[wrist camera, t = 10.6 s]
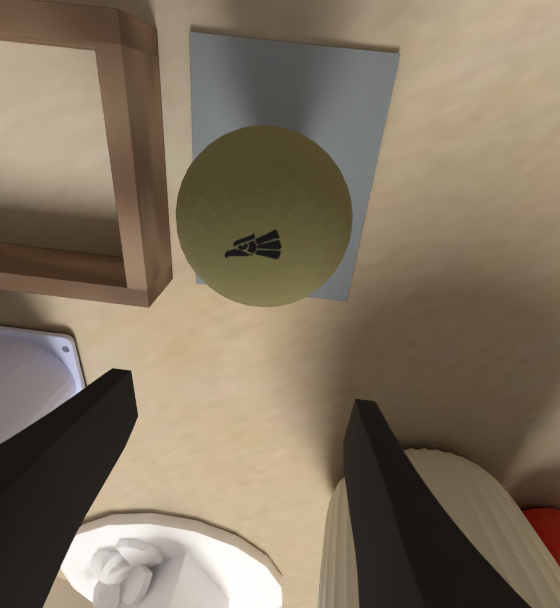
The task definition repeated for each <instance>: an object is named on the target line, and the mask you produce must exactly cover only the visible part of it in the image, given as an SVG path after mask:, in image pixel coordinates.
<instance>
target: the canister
mask: <svg viewBox="0 0 560 608" xmlns="http://www.w3.org/2000/svg"><path fill="white" fill-rule="evenodd" d="M404 452H405V453H406V455H407V456H408V458H409V460H410V461H411V463H412V464H413V466H414V467H415V469H416V470H417V472H418V473H419V475H420V476H421V478H422V479H423V481H424V482H425V483H426V485H427V486H428V488H429V489H430V491H431V492H432V493H433V495H434V496H435V497H436V499H437V500H438V502H439V503H440V504H441V506H442V507H443V508H444V509H445V511H446V512H447V513H448V515H449V516H450V517H451V518H452V520H453V521H454V522H455V523H456V525H457V526H458V527H459V528H460V530H461V531H462V532H463V533H464V534H465V536H466V537H467V538H468V539H469V540H470V542H471V543H472V544H473V545H474V546H475V547H476V549H477V550H478V551H479V552H480V553H481V554H482V555H483V557H484V558H485V559H486V560H487V561H488V562H489V563H490V564H491V565H492V566H493V567H494V569H495V570H496V571H497V572H498V573H499V574H500V575H501V576H502V577H503V578H504V579H505V580H506V582H507V583H508V584H509V585H510V586H511V587H512V588H513V589H514V590H515V591H516V592H517V593H518V594H519V595H520V596H521V597H522V598H523V599H524V600H525V601H526V602H527V603H528V604H529V605H530V606H531V607H532V608H560V567H559V565H558V564H557V562H556V561H555V559H554V558H553V556H552V555H551V554H550V552H549V551H548V549H547V548H546V546H545V545H544V543H543V542H542V540H541V539H540V537H539V536H538V535H537V533H536V532H535V530H534V529H533V527H532V526H531V524H530V523H529V521H528V520H527V518H526V517H525V516H524V514H523V513H522V511H521V510H520V508H519V507H518V505H517V504H516V503H515V501H514V500H513V499H512V497H511V496H510V495H509V494H508V492H507V491H506V490H505V489H504V488H503V487H502V486H501V484H500V483H499V482H498V481H497V480H496V479H495V478H494V477H493V476H492V475H490V474H489V473H488V472H487V471H485V470H484V469H482V468H481V467H480V466H479V465H477V464H476V463H474V462H471V461H469V460H467V459H466V458H464V457H462V456H456V455H454V454H453V453H450V452H442V451H440V450H437V449H435V450H428V449H426V448H422V449H413V448H410V449H407V450H404ZM318 608H359V596H358V578H357V565H356V556H355V548H354V541H353V534H352V527H351V520H350V513H349V506H348V498H347V491H346V484H345V476H344V477H343V478H342V479H341V480H340V481H339V483H338V484H337V486H336V488H335V490H334V492H333V494H332V496H331V499H330V502H329V507H328V511H327V516H326V523H325V532H324V542H323V552H322V562H321V573H320V584H319V596H318Z"/></svg>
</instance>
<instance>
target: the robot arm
mask: <svg viewBox="0 0 560 608" xmlns="http://www.w3.org/2000/svg"><path fill="white" fill-rule="evenodd" d="M67 347H68V348H69V349H68V348H67ZM137 418H138V412H137V406H136V399H135V393H134V386H133V380H132V373H131V371H130V370H122V369H114V368H112V369H111V370H109V371H108V372H107V373H105V374H104V375H102V376H101V377H99V378H98V379H97V380H95V381H94V382H92V383H91V384H90V385H88V386H87V387H85V383H84V379H83V375H82V371H81V367H80V363H79V358H78V354H77V350H76V346H75V342H74V339H73V338H72V337H71V336H69V335H67V334H60V333H52V332H44V331H36V330H28V329H20V328H12V327H4V326H0V608H43V605H44V603H45V601H46V599H47V596H48V594H49V592H50V589H51V587H52V585H53V583H54V580H55V578H56V576H57V574H58V571H59V569H60V567H61V565H62V563H63V561H64V558H65V556H66V554H67V552H68V550H69V548H70V546H71V543H72V541H73V539H74V537H75V535H76V533H77V531H78V529H79V527H80V525H81V523H82V521H83V520H84V518H85V516H86V514H87V512H88V511H89V509H90V507H91V505H92V504H93V502H94V500H95V498H96V497H97V495H98V493H99V492H100V490H101V488H102V486H103V485H104V483H105V481H106V479H107V478H108V476H109V474H110V472H111V471H112V469H113V467H114V465H115V464H116V462H117V460H118V458H119V457H120V455H121V453H122V451H123V450H124V448H125V446H126V444H127V441H128V439H129V437H130V435H131V432H132V430H133V427H134V425H135V422H136V420H137ZM343 447H344V476H345V484H346V491H347V498H348V506H349V513H350V520H351V527H352V534H353V541H354V548H355V556H356V565H357V578H358V596H359V608H532V607H531V606H530V605H529V604H528V603H527V602H526V601H525V600H524V599H523V598H522V597H521V596H520V595H519V594H518V593H517V592H516V591H515V590H514V589H513V588H512V587H511V586H510V585H509V584H508V583H507V582H506V580H505V579H504V578H503V577H502V576H501V575H500V574H499V573H498V572H497V571H496V570H495V569H494V567H493V566H492V565H491V564H490V563H489V562H488V561H487V560H486V559H485V558H484V557H483V555H482V554H481V553H480V552H479V551H478V550H477V549H476V547H475V546H474V545H473V544H472V543H471V542H470V540H469V539H468V538H467V537H466V536H465V534H464V533H463V532H462V531H461V530H460V528H459V527H458V526H457V525H456V523H455V522H454V521H453V520H452V518H451V517H450V516H449V515H448V513H447V512H446V511H445V509H444V508H443V507H442V506H441V504H440V503H439V502H438V500H437V499H436V497H435V496H434V495H433V493H432V492H431V491H430V489H429V488H428V486H427V485H426V483H425V482H424V481H423V479H422V478H421V476H420V475H419V473H418V472H417V470H416V469H415V467H414V466H413V464H412V463H411V461H410V460H409V458H408V456H407V455H406V453H405V452H404V450H403V449H402V447H401V445H400V444H399V442H398V440H397V439H396V437H395V435H394V434H393V432H392V430H391V429H390V427H389V425H388V423H387V422H386V420H385V418H384V416H383V414H382V413H381V411H380V409H379V407H378V405H377V404H376V403H375V401H367V400H359V399H355V402H354V406H353V409H352V413H351V417H350V420H349V424H348V428H347V431H346V435H345V439H344V442H343Z"/></svg>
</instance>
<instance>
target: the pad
mask: <svg viewBox="0 0 560 608" xmlns="http://www.w3.org/2000/svg"><path fill="white" fill-rule="evenodd" d="M189 36H190V73H191V110H192V146H193V161H194V160H195V158H196V157H197V156H198V155H199V154H200V153H201V152H202V151H203V150H204V149H205V148H206V147H207V146H208V145H209V144H210V143H212V142H213V141H215V140H216V139H218V138H219V137H221V136H223V135H224V134H227V133H229V132H232V131H235V130H237V129H240V128H243V127H249V126H264V125H271V126H276V127H281V128H286V129H290V130H293V131H296V132H298V133H300V134H302V135H304V136H306V137H308V138H309V139H311V140H313V141H314V142H315V143H317V144H318V145H319V146H320V147H321V148H322V149H323V150H324V151H326V152H327V153H328V154H329V155H330V157H331V158H332V159H333V161H334V162H335V163H336V165H337V166H338V167H339V169H340V171H341V173H342V175H343V177H344V179H345V182H346V184H347V186H348V190H349V193H350V197H351V202H352V212H353V220H352V232H351V237H350V241H349V244H348V247H347V250H346V252H345V255H344V257H343V259H342V261H341V263H340V264H339V266H338V267H337V269H336V271H335V272H334V274H333V275H332V276H331V277H330V278H329V279H328V280H327V281H326V282H325V283H324V284H323V285H322V286H321V287H320V288H318V289H317V290H316V291H314V292H313V293H311V294H310V295H309V296H307V297H313V298H322V299H330V300H338V301H346V302H347V298H348V293H349V288H350V284H351V279H352V275H353V270H354V265H355V261H356V256H357V251H358V247H359V242H360V238H361V233H362V228H363V224H364V219H365V214H366V210H367V205H368V201H369V196H370V191H371V187H372V182H373V177H374V173H375V168H376V164H377V159H378V154H379V150H380V145H381V140H382V136H383V131H384V127H385V122H386V117H387V113H388V108H389V104H390V99H391V94H392V90H393V85H394V80H395V76H396V71H397V67H398V62H399V57H400V54H398V53H388V52H379V51H369V50H359V49H350V48H340V47H331V46H321V45H311V44H302V43H292V42H283V41H273V40H263V39H254V38H244V37H235V36H225V35H215V34H206V33H196V32H189ZM196 283H198V284H206V283H205V282H204V281H203V280H202V279H201V278H200V277H199V276H198V275H197V274H196ZM206 285H207V284H206Z"/></svg>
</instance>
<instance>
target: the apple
mask: <svg viewBox="0 0 560 608" xmlns="http://www.w3.org/2000/svg"><path fill="white" fill-rule="evenodd" d="M522 513H523V514H524V516H525V517H526V518H527V520H528V521H529V523H530V524H531V526H532V527H533V529H534V530H535V532H536V533H537V535H538V536H539V537H540V539H541V540H542V542H543V543H544V545H545V546H546V548H547V549H548V551H549V552H550V554H551V555H552V556H553V558H554V559H555V561H556V562H557V564H558V565H559V567H560V510H558V509H555V508H536V509H528V510H524V511H522Z"/></svg>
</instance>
